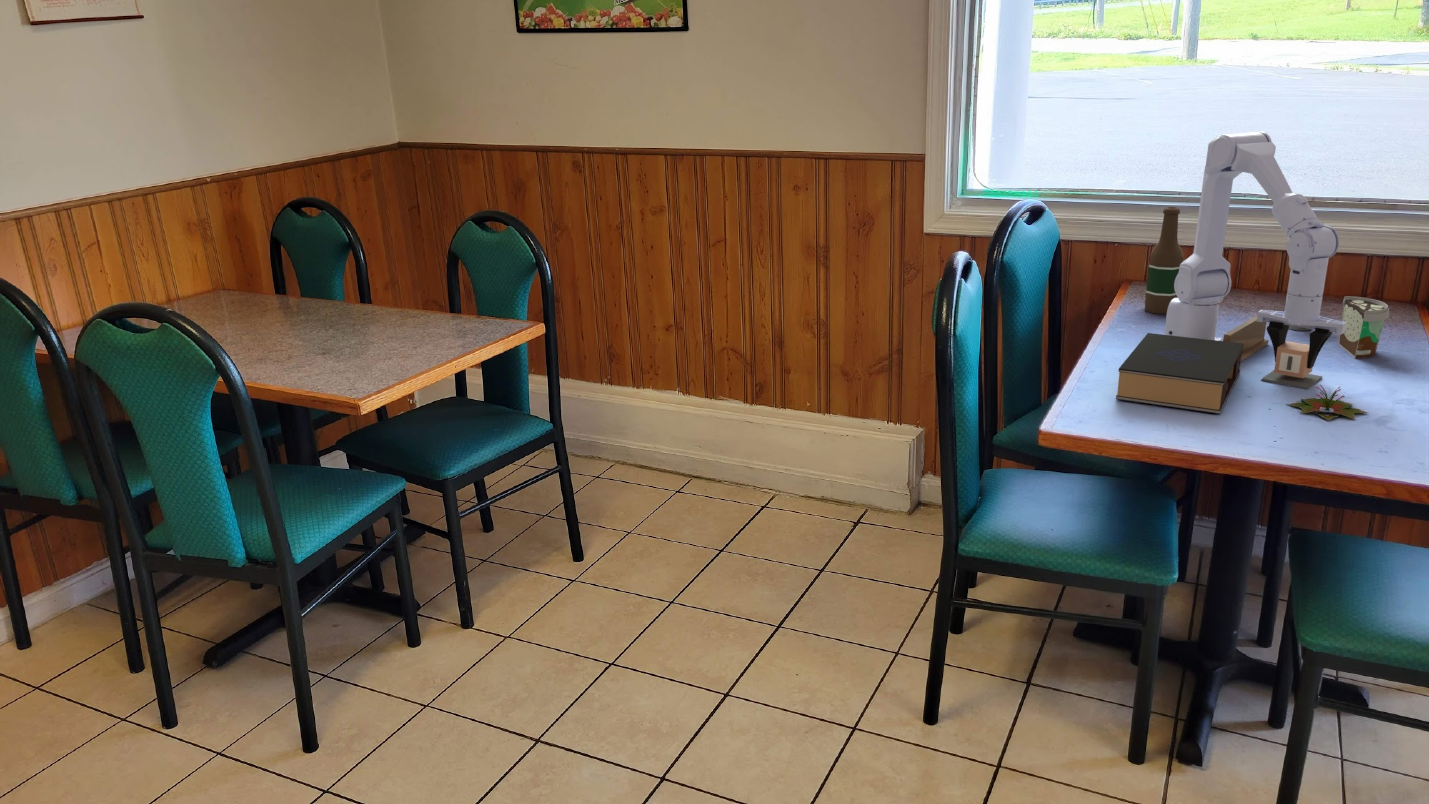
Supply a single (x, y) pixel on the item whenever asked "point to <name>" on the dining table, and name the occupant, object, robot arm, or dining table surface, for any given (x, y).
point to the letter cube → (1292, 359)
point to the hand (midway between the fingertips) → (1293, 364)
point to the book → (1180, 372)
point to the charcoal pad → (1292, 380)
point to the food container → (1362, 325)
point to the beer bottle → (1164, 265)
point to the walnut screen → (1248, 336)
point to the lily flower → (1327, 406)
